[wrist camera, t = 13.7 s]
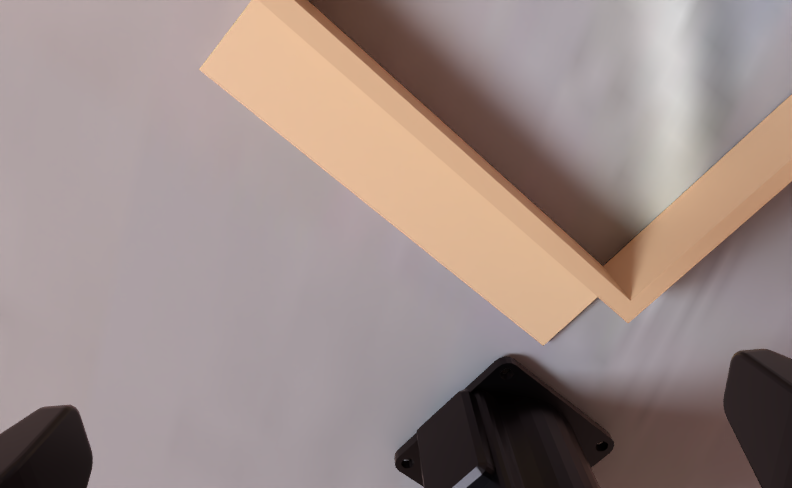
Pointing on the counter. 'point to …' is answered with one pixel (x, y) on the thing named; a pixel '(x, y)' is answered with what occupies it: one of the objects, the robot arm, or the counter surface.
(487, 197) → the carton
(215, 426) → the counter surface
